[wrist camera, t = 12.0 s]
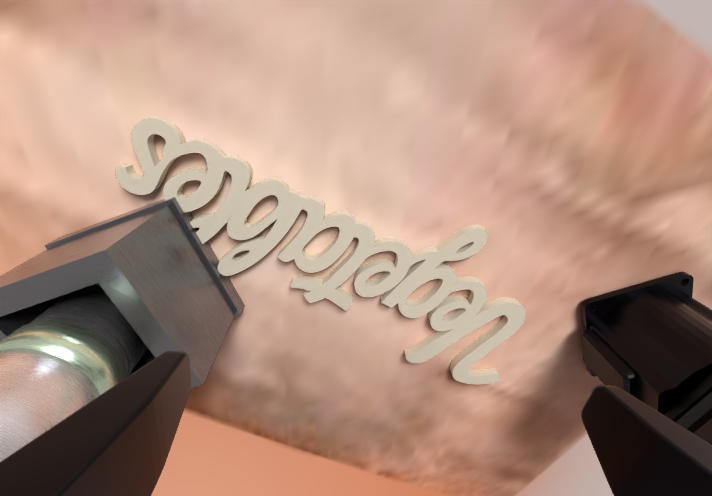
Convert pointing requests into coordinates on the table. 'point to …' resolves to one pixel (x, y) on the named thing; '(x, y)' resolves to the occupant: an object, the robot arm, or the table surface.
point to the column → (62, 364)
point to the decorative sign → (330, 248)
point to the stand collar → (135, 282)
